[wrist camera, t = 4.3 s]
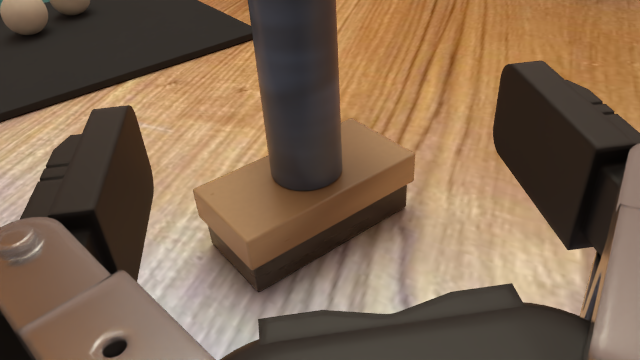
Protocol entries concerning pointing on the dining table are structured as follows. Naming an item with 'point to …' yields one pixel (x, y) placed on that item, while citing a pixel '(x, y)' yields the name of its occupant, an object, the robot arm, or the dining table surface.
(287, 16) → the brush
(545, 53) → the dining table surface
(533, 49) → the dining table surface
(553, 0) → the dining table surface
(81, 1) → the beige sphere
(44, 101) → the mat
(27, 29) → the beige ball
